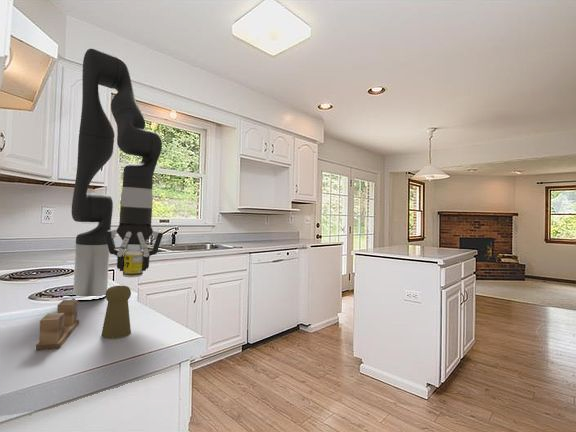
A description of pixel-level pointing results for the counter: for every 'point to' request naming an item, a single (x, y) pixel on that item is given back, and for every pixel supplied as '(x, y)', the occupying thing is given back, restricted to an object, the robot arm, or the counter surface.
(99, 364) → the counter surface
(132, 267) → the supplement bottle
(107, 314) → the brown tapered upright piece
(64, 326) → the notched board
